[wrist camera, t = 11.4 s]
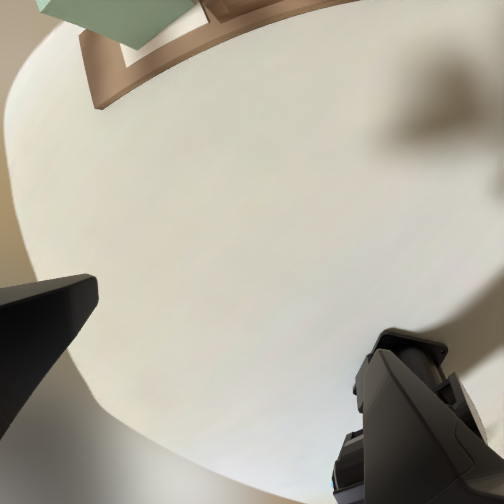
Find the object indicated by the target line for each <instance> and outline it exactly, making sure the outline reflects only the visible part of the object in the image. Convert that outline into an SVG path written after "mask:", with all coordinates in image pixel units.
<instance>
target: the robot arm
mask: <svg viewBox="0 0 504 504" xmlns="http://www.w3.org/2000/svg"><path fill="white" fill-rule="evenodd" d="M98 300H99V295H98V282H97V278H96V277H95V276H92V275H89V274H80V275H74V276H68V277H62V278H56V279H51V280H45V281H39V282H33V283H28V284H22V285H17V286H11V287H6V288H0V440H1V438H2V437H3V435H4V434H5V432H6V431H7V429H8V428H9V426H10V424H11V423H12V422H13V420H14V419H15V417H16V416H17V414H18V413H19V411H20V410H21V409H22V407H23V406H24V404H25V403H26V402H27V400H28V399H29V397H30V396H31V395H32V393H33V392H34V390H35V389H36V388H37V386H38V385H39V384H40V382H41V381H42V380H43V378H44V377H45V376H46V374H47V373H48V372H49V370H50V369H51V368H52V366H53V365H54V364H55V363H56V361H57V360H58V359H59V357H60V356H61V355H62V354H63V352H64V351H65V350H66V349H67V347H68V346H69V345H70V344H71V342H72V341H73V340H74V339H75V337H76V336H77V334H78V333H79V331H80V330H81V328H82V327H83V325H84V324H85V322H86V321H87V319H88V318H89V316H90V315H91V313H92V312H93V310H94V309H95V308H96V306H97V304H98ZM384 337H388V338H387V339H385V340H384V339H383V338H384ZM443 349H444V350H443ZM441 350H443V351H442V352H441ZM447 353H448V348H447V346H446V345H445V344H441V343H437V342H432V341H427V340H423V339H418V338H414V337H409V336H405V335H401V334H396V333H392V332H388V331H385V332H382V333H381V334H380V335H379V337H378V339H377V341H376V344H375V346H374V348H373V350H372V352H371V353H370V354H368V355H367V356H366V358H365V360H364V362H363V364H362V366H361V368H360V370H359V372H358V374H357V376H356V383H355V385H354V387H353V394H354V395H357V404H358V411H359V413H363V429H361V430H359V431H357V432H352V433H349V434H347V435H346V438H345V440H344V443H343V446H342V449H341V451H340V454H339V457H338V459H337V460H336V461H335V464H334V470H333V474H332V482H333V488H334V491H333V495H334V497H335V499H336V501H337V502H338V504H504V459H503V458H501V457H500V456H499V455H498V454H497V453H496V452H495V451H493V450H492V449H491V448H490V447H489V446H488V443H487V438H486V434H485V429H484V426H483V424H482V421H481V419H480V417H479V415H478V412H477V410H476V408H475V406H474V404H473V402H472V400H471V398H470V397H469V395H468V393H467V391H466V390H465V388H464V386H463V385H462V383H461V381H460V380H459V378H458V376H457V375H456V373H455V372H454V373H452V374H451V375H450V376H448V379H446V377H445V375H444V373H443V371H442V368H441V366H440V365H441V363H442V362H443V360H444V358H445V356H446V355H447Z"/></svg>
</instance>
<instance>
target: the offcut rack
mask: <svg viewBox="0 0 504 504" xmlns="http://www.w3.org/2000/svg"><path fill="white" fill-rule="evenodd" d="M191 1H192V2H193V3H194V4H195V6H194V7H192V8H191V9H189V10H188V11H187V12H185V13H184V14H182V15H181V16H180V17H178V18H177V19H176V20H174V21H173V22H172V23H170V24H169V25H168V26H166V27H165V28H164V29H163V30H161V31H160V32H159V33H158V34H157V35H155V36H154V37H153V38H152V39H150V40H149V41H148V42H147V43H146V44H145V45H143V46H142V47H141V48H140V49H139V50H138V51H137V50H134V49H132V48H130V47H128V46H126V45H124V44H121V43H119V42H117V41H115V40H112V39H110V38H108V37H105V36H103V35H101V34H98V33H96V32H93V31H91V30H88V29H86V30H85V31H83V32H82V33H81V34H80V35H79V41H80V46H81V51H82V56H83V61H84V66H85V71H86V75H87V80H88V84H89V88H90V92H91V96H92V100H93V104H94V108H95V109H100V110H103V109H104V108H106V107H107V106H109V105H110V104H111V103H113V102H114V101H116V100H117V99H119V98H120V97H122V96H123V95H125V94H127V93H128V92H130V91H131V90H133V89H134V88H136V87H138V86H139V85H141V84H143V83H144V82H146V81H148V80H149V79H151V78H153V77H154V76H156V75H158V74H160V73H161V72H163V71H165V70H167V69H169V68H171V67H172V66H174V65H176V64H178V63H180V62H182V61H184V60H186V59H188V58H190V57H192V56H194V55H196V54H198V53H200V52H202V51H204V50H206V49H208V48H211V47H213V46H215V45H217V44H220V43H222V42H224V41H226V40H229V39H231V38H234V37H236V36H238V35H241V34H243V33H246V32H249V31H251V30H254V29H257V28H259V27H262V26H265V25H268V24H271V23H274V22H277V21H280V20H283V19H286V18H289V17H292V16H296V15H299V14H303V13H306V12H310V11H313V10H317V9H321V8H325V7H330V6H334V5H338V4H343V3H348V2H353V1H358V0H191Z"/></svg>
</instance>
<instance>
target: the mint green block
mask: <svg viewBox="0 0 504 504" xmlns="http://www.w3.org/2000/svg"><path fill="white" fill-rule="evenodd" d="M36 2H37V5H38V8H39V10H40V12H41V13H43V14H46V15H50V16H53V17H56V18H58V19H61V20H64V21H67V22H70V23H72V24H75V25H78V26H80V27H83V28H86V29H88V30H91V31H93V32H96V33H98V34H101V35H103V36H105V37H108V38H110V39H112V40H115V41H117V42H119V43H121V44H124V45H126V46H128V47H130V48H132V49H134V50H137V51H138V50H139V49H140V48H141V47H142V46H143V45H145V44H146V43H147V42H148V41H149V40H150V39H152V38H153V37H154V36H155V35H157V34H158V33H159V32H160V31H161V30H163V29H164V28H165V27H166V26H168V25H169V24H170V23H172V22H173V21H174V20H176V19H177V18H178V17H180V16H181V15H182V14H184V13H185V12H187V11H188V10H189V9H191V8H192V7H194V6H195V4H194V3H193V2H192V1H191V0H36Z"/></svg>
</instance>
